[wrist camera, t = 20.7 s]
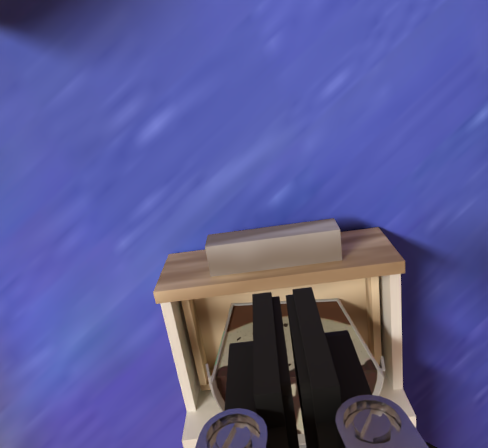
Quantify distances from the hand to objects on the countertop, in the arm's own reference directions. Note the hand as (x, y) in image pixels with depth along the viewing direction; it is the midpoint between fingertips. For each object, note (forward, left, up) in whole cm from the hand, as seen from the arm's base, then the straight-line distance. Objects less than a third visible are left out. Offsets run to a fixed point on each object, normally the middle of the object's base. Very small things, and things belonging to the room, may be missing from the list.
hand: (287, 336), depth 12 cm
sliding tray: (-12, 0, -24) cm, 27 cm away
